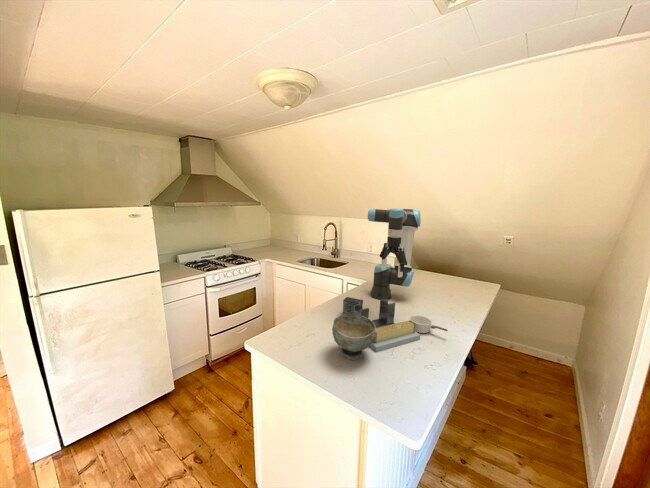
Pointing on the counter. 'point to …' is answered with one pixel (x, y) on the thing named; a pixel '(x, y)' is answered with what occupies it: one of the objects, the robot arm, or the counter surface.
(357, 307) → the grey metal bracket
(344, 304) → the small box
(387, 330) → the rail
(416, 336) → the board
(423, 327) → the saucepan
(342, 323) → the bowl
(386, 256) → the robot arm
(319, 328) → the counter surface
